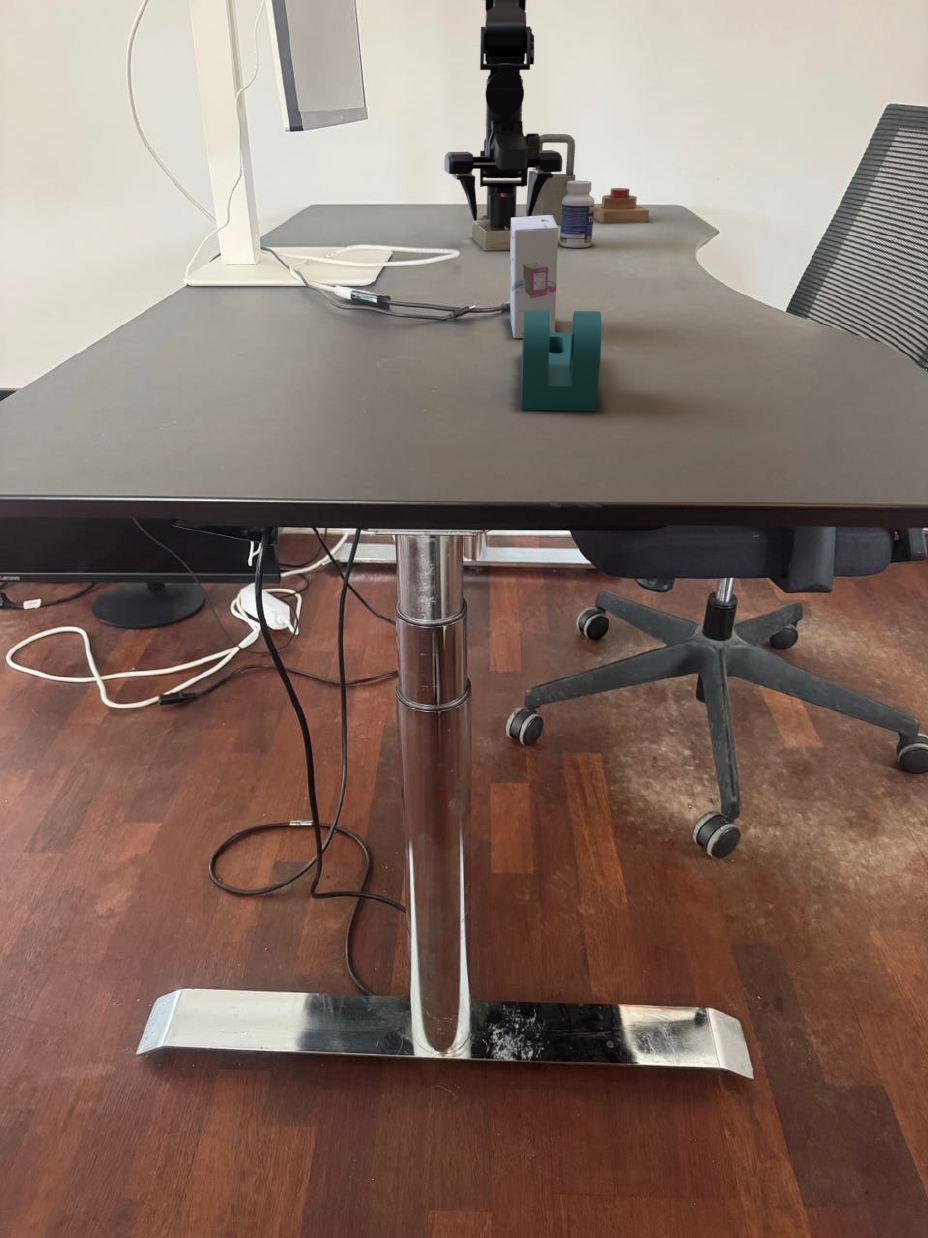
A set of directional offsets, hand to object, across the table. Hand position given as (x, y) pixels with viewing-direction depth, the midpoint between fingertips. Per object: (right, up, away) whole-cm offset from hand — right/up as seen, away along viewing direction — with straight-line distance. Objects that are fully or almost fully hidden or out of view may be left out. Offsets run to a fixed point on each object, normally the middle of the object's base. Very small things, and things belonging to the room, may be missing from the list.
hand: (501, 219), depth 147 cm
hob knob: (0, -1, 0) cm, 1 cm away
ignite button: (+24, +14, +22) cm, 36 cm away
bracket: (+3, -44, -60) cm, 75 cm away
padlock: (+10, +9, +21) cm, 25 cm away
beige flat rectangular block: (+1, -3, +2) cm, 4 cm away
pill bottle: (+12, -4, +1) cm, 13 cm away
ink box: (+1, -34, -44) cm, 56 cm away
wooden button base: (+24, +11, +24) cm, 36 cm away
